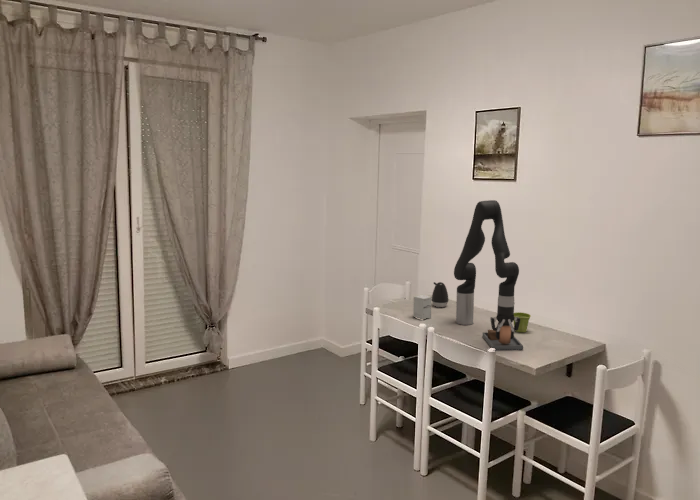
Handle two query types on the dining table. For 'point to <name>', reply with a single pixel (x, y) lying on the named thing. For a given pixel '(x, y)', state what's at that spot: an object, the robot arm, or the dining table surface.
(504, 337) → the cylinder block
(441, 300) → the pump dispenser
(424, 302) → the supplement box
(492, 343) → the tray
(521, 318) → the plant pot
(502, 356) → the dining table surface
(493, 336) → the walnut block
